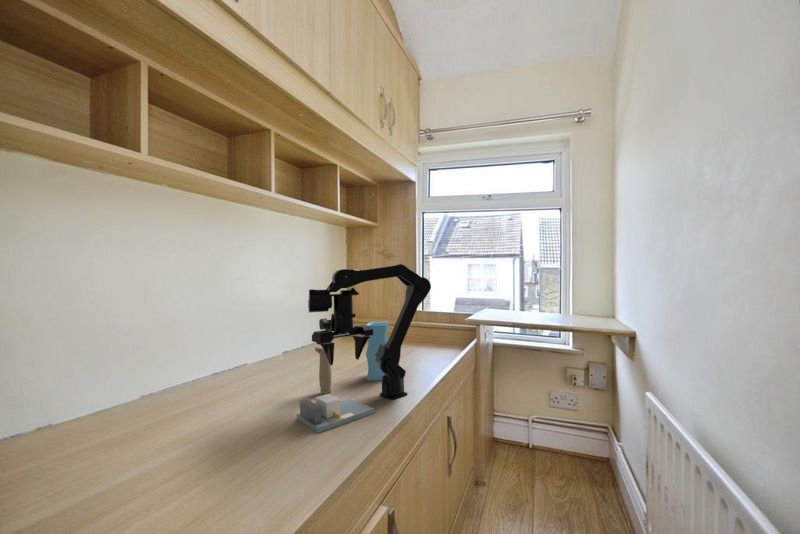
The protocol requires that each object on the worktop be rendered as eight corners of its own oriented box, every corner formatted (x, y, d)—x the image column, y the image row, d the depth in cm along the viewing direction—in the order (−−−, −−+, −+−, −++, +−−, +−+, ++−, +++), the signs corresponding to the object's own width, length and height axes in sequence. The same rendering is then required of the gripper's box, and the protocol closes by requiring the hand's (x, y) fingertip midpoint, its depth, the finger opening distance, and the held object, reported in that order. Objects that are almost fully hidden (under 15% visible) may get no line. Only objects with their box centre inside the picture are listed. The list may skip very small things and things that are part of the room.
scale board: (350, 401, 103) (350, 396, 104) (374, 413, 95) (374, 407, 95) (296, 418, 92) (296, 412, 92) (318, 433, 83) (318, 426, 83)
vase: (388, 380, 124) (386, 324, 125) (366, 380, 125) (365, 325, 125) (390, 373, 132) (389, 322, 133) (370, 374, 133) (368, 322, 133)
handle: (328, 396, 109) (327, 349, 109) (313, 393, 112) (312, 347, 112) (338, 391, 113) (337, 346, 114) (323, 389, 116) (322, 344, 117)
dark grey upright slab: (307, 414, 92) (306, 399, 92) (321, 423, 86) (321, 406, 86) (300, 416, 91) (299, 401, 91) (314, 425, 85) (314, 409, 85)
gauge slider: (328, 408, 95) (328, 393, 95) (346, 417, 89) (346, 401, 89) (315, 412, 93) (315, 397, 93) (332, 422, 86) (332, 405, 86)
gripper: (353, 306, 117) (355, 353, 116) (302, 311, 104) (303, 363, 104) (373, 308, 108) (375, 358, 108) (320, 314, 96) (321, 370, 95)
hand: (344, 362), depth 104 cm, fingers open, 9 cm apart
